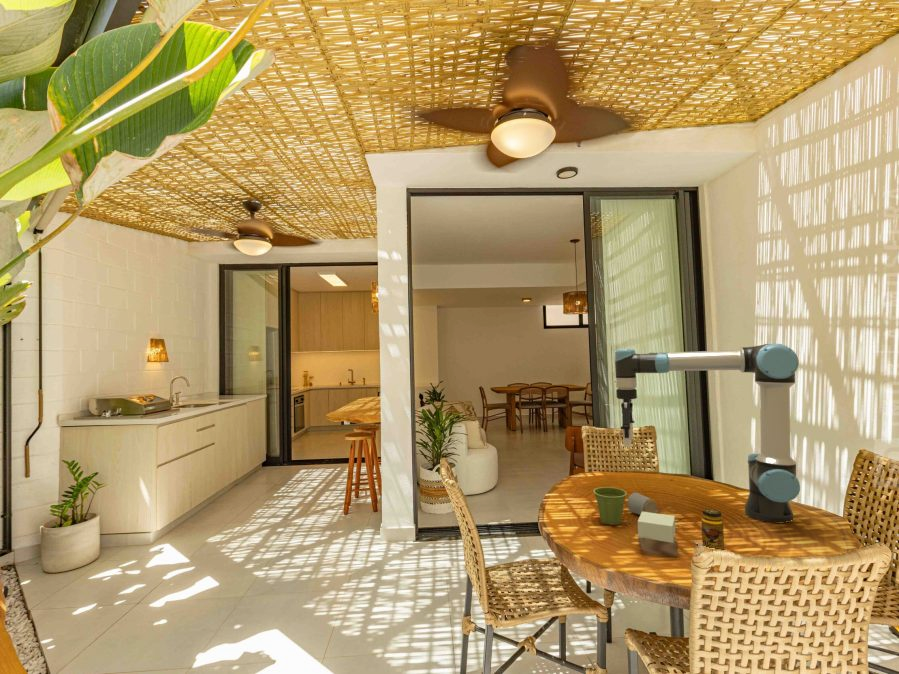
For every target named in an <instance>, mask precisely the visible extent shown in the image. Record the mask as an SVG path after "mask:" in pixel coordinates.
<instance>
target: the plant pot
mask: <svg viewBox="0 0 899 674" xmlns="http://www.w3.org/2000/svg"><path fill="white" fill-rule="evenodd" d="M592 492H593V493H594V496H595V499H596V502H597V503H596V504H597V508H598V513H599V517H600V519H599V520H600V522H601V523H602V524H605V525H610V526H618V525H621V523H622V519H623V511H624V504H625V500H626V496H627V495H628V492H627V491H625V490H624V489H621V488H618V487H611V486H602V487H601V486H600V487H596V488H594V489H593V491H592Z"/></svg>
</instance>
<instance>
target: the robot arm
mask: <svg viewBox="0 0 899 674" xmlns="http://www.w3.org/2000/svg"><path fill="white" fill-rule="evenodd" d="M799 360H800V359H799V357H798V355H797V353H796V352H795V351H794V350H793V349H792V348H791V347H788V346H787V345H785V344H781V343H764V344H760V345H755V346H754V345H753V346H746V347H741V346H740V347H739V348H738V349H734V350H733V349H732V350H731V349H730V350H705V351H704V350H702V351H677V352H676V351H674V352H671V351H670V352H649V353H636V350H635V349H634V348H627V349H626V348H625V349H624V348H623V349H621V348H620V349H617V350H616V351H615V352H614V368H615V370H614V371H615V379H614V383H615V387H616V392H615V393H616V398H617V400H618V399H619V400H622V403H620V404H621V405H620V406H621V414H622V420H621V421H622V426H620V430H622V441H623V442H622V443H623V447H632V441H634V424H635V420H634V418H633V407H634V406H633V402H632V401H633V400H636V399H637V398H638V392H637V389H636V388H637V385H638V383H637V374H666V373H667V374H668V373H669V372H679V371H680V372H683V371H686V372H687V371H689V372H691V371H692V372H693V371H694V372H695V371H698V372H699V371H740V372H741V373H751V374H754V382H755V384H757V385H758V386H759V390H760V392H759V395H760V396H759V397H760V398H759V399H760V400H759V403H760V406H759V407H760V409H759V411H760V412H759V413H760V417H759V418H760V453H750V454H749V455H748V457H747V464H748V485H749V492H748V493H749V494H748V496H747V499H746V503H745V505H744V514H745V515H746V516H747V517H749V518H752V519H754V520H758V521H761V522H766V523H772V522H786V521H791V520H793V519H794V513H793V512H794V511H793V509H792V507H791V505H790V502H791V501H792V500H794V499H796V498H797V497H798V495H799V493H800V491H801V485H800V481H799V479H798V477H797V462H796V461H795V460H794V459H793V458H792V457H791V392H790V391H791V387H792V386H793V385H795V384H796V372H797V370H798V368H799ZM793 521H794V520H793Z"/></svg>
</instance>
